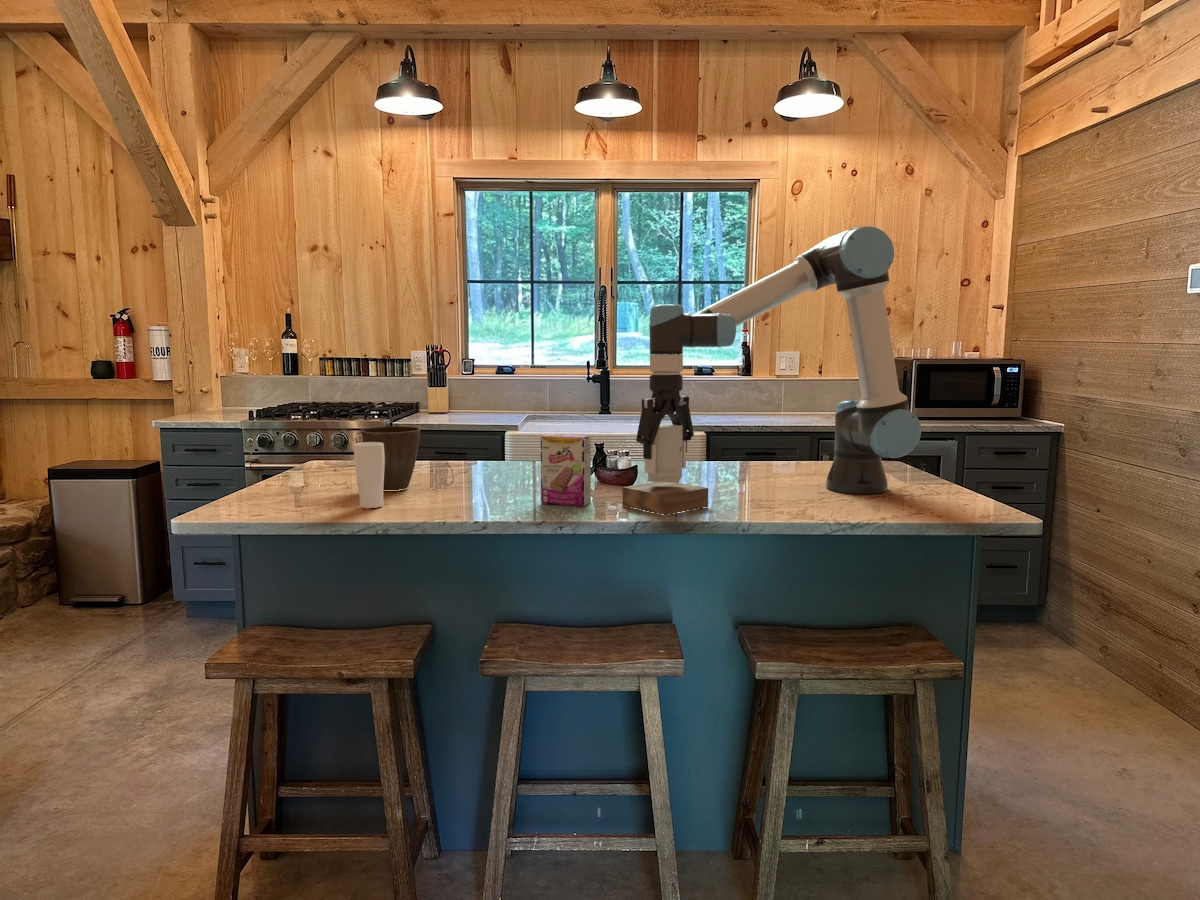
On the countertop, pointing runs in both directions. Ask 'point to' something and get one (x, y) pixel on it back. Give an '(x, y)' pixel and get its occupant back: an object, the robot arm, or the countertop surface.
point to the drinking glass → (370, 473)
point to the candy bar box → (565, 469)
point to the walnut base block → (665, 497)
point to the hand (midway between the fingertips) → (665, 470)
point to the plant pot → (396, 452)
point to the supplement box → (668, 454)
